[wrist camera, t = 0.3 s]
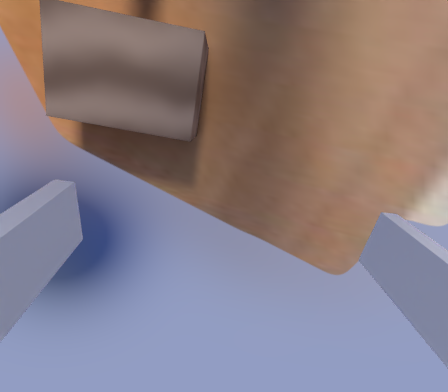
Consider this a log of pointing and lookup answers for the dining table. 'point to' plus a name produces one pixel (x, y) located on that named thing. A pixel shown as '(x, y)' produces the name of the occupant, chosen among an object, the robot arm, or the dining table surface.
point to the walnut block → (122, 70)
